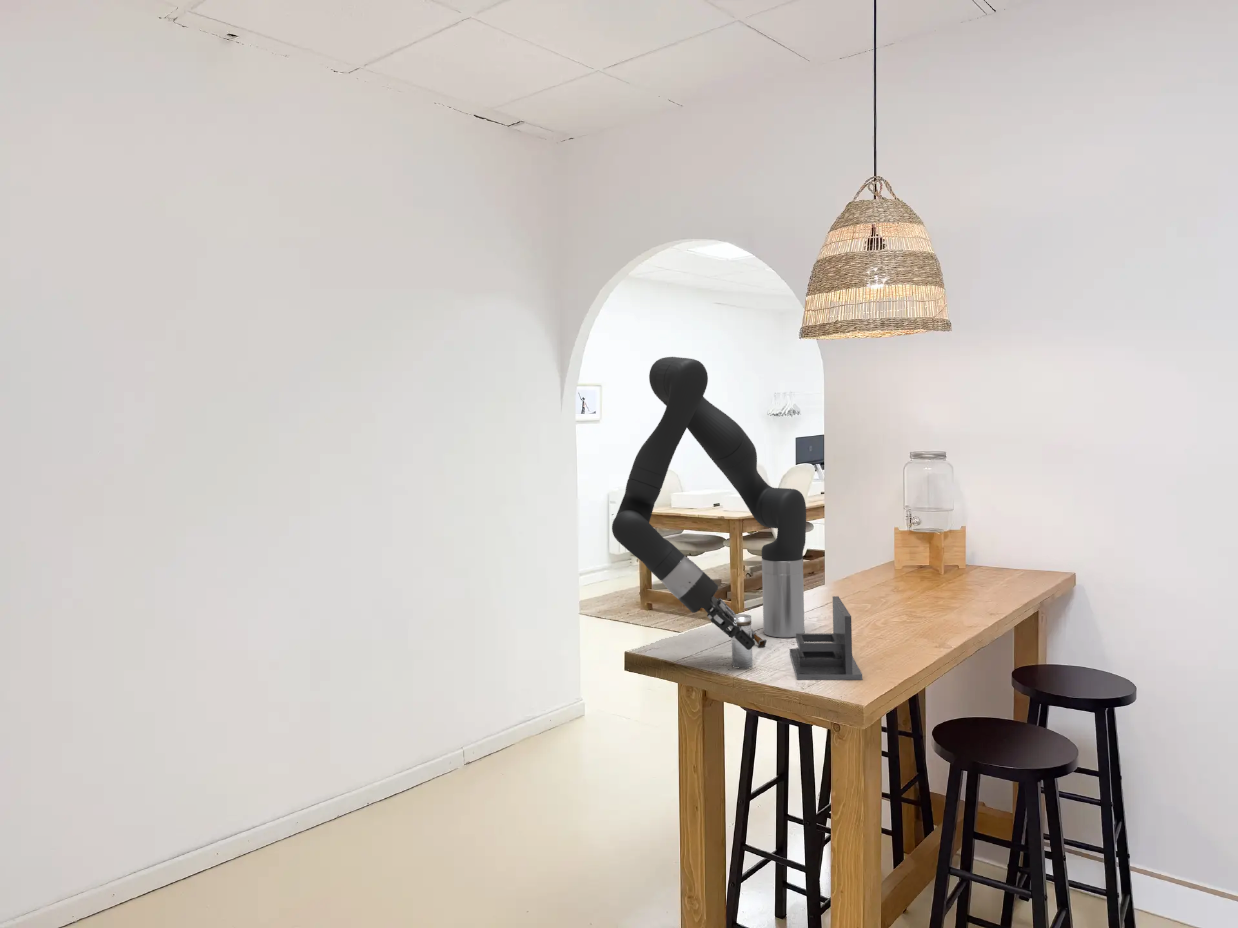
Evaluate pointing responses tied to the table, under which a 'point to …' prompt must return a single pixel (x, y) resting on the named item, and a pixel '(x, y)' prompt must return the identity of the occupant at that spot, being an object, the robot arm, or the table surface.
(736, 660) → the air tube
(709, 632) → the table surface
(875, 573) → the table surface
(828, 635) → the collar stand
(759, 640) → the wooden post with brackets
